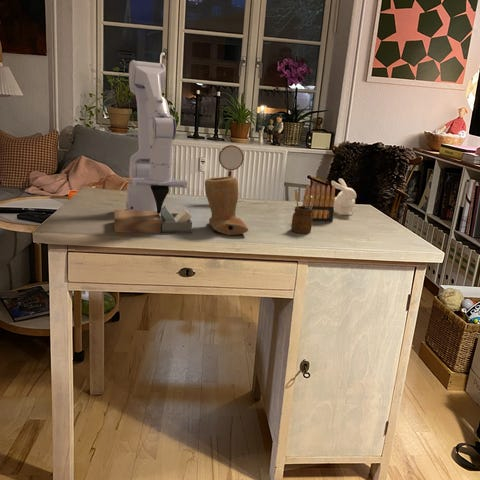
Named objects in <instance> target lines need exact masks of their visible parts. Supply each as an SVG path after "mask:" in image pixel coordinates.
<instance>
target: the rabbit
mask: <svg viewBox="0 0 480 480" xmlns="http://www.w3.org/2000/svg"><path fill="white" fill-rule="evenodd" d="M338 182H339V183H338ZM338 182H336V181H334V180H331V182H330V183H331V186H332V187H333V185H334V186H335V189H337V190H340V192H338V194H337V196H334V197H335V200H334V213H335V214H338V215H341V216H345V215H346V216H352V214H353V213H354V211H353V209H354V208H355V204H356V199H357V193H356V191H355V190H354V189H353V188H352V187H348V185H347V184H346V182H345V180H344V179H343V178H338Z"/></svg>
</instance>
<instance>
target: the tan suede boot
mask: <svg viewBox="0 0 480 480" xmlns="http://www.w3.org/2000/svg"><path fill="white" fill-rule="evenodd" d="M204 190H205V191H204V192H205V196H206V199H207V202H208V205H209V209H210V213H211V217H210V218H209V219H208V222H209V225H210V226H211V227H212V229H213V231H216V232H219V233H222V234H224V235H228V236H234V235H236V236H237V235H241V234H245V233H247V232H248V231H249V227H248V226H247V225H246V224H245V222H244V221H243V220H242V219H241V218H240V217H237V216H236V211H237V204H238V201H239V181H238V179H237V177H235V176H234V177H233V176H231V177H228V176H219V177H215V176H214V177H210V178H206V179H205V181H204Z"/></svg>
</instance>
